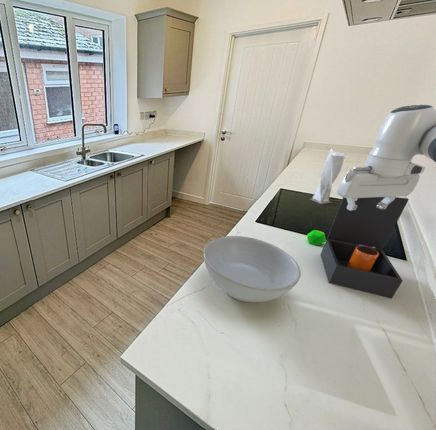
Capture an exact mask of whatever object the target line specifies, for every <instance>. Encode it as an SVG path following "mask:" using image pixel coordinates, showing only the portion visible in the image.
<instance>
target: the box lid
mask: <svg viewBox="0 0 436 430" xmlns="http://www.w3.org/2000/svg"><path fill="white" fill-rule="evenodd" d="M384 198H385V197H370V198H358V199H357V201H355V205H357V208H356V210H352V211H350V210H348V209H347V206H348V202H347V198H344V197H342V198H341V202H340V204H339V206H338V209H337V212H336V213H335V217H334V219H333V221H332V224H331V226H330V228H329V231H328V234H327V236H326V239H329V240H334V241H339V242H345V243H350V244H355V245H359V244H360V245H365V246H371V247H375V248H377V249H382V250H383V249H384V248H385V246H386V244H387V243H388V241H389V239H390V236H391V235H392V233H393V231H394V229H395V227H396V225H397V223H398V221H399V219H400V217H401V215H402V214H403V211H404V210H405V208H406V206H407V203H408V202H409V200H410V199H409V198H407V197H401V196H396V198H395V199H394V200H393V201H392V202H391V203H390V204H388V205H387V207H386V209H378V208H376V206H377V203H378V202H381V201H382V200H383V199H384Z"/></svg>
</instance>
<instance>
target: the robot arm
mask: <svg viewBox="0 0 436 430" xmlns="http://www.w3.org/2000/svg"><path fill="white" fill-rule="evenodd" d="M374 140H375V141H374V145H373V147H372V149H371V150H370V151H369V152H368V153H369V154H368V155H367V158H366V160H365V162H364V165H363V166H355V167H353V168H352V169H349V170H348V171H347V172H346V174H345V175H344V177H343V178H342V180H341V182H340V183H339V185H338V188H337V190H336V193H337V195H338V196H340V197H342V198H343V197H344V198H347V202H348V206H347V209H348V210H350V211H352V210H356V208H357V205H355V201H357V199H358V198H370V197H385V198H384V199H383V200H382V201H381V202H378V203H377V206H376V208H378V209H386V207H387V205H388V204H390V203H391V202H392V201H393V200H394V199H395V198H396V197H407V196H410V195H411V194H412V193H413V192H414V190H415V188H416V187H417V185H418V184H419V181H420V177H421V174H423V173H424V172H425V170H426V167H425V166H423V165H420V164H418V163H414V162H412V160H413V158H414V157H415V156H417V155H420V156H425V157H426V158H428V159H430V160H432V161H433V162H434V163H436V109H435V108H434V106H432V105H430V104H412V105H403V106H401V107H397V108H395V109H393V110H391V111H390V112H389V113H388V115H386V117H385V119H384V120H383V122H382V124H381V126H380V128H379V130H378V132H377V134H376V137H375V139H374Z"/></svg>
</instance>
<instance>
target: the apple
mask: <svg viewBox="0 0 436 430" xmlns="http://www.w3.org/2000/svg"><path fill="white" fill-rule="evenodd" d="M306 238H307V241H308V243H309V244H311V245H313V246H321V245H323V244H325V242H326V240H327V237H326V234H325V232H324V231H321V230H317V229H313V230H311V231H310V232H309V233H307V235H306Z"/></svg>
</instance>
